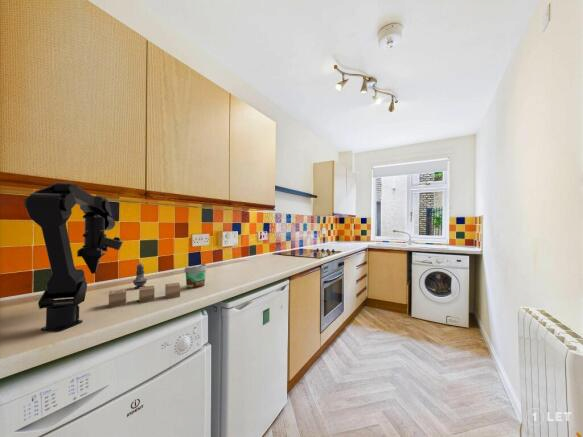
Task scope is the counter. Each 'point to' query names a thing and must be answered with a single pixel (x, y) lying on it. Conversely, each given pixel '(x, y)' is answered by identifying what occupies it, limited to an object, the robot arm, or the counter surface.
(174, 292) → the walnut block numbered 1
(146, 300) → the plain walnut block
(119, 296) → the walnut block numbered 7
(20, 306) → the counter surface
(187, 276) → the food container
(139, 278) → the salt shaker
